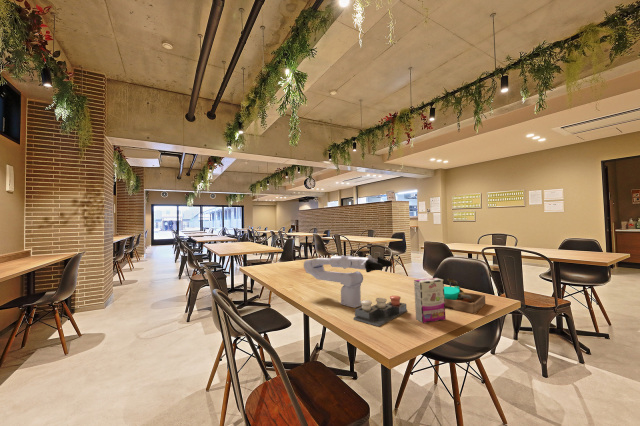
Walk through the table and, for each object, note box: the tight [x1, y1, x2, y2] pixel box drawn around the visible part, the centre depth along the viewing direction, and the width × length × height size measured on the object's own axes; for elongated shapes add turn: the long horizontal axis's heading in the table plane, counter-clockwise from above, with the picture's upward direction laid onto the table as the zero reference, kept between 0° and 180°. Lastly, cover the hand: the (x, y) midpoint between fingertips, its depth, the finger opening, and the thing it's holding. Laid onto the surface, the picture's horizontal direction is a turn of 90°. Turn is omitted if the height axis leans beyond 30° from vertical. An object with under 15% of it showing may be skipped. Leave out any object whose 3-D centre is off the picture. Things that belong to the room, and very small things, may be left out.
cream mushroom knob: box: [361, 299, 373, 312], centre depth 115 cm, size 5×5×4 cm
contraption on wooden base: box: [444, 278, 472, 310], centre depth 131 cm, size 14×18×15 cm
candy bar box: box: [413, 277, 446, 324], centre depth 112 cm, size 11×5×16 cm, turn 105°
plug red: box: [389, 295, 401, 306], centre depth 121 cm, size 5×5×4 cm
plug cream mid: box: [375, 297, 387, 309], centre depth 118 cm, size 5×5×4 cm
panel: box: [353, 301, 408, 328], centre depth 118 cm, size 13×24×4 cm, turn 137°
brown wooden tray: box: [444, 291, 486, 314], centre depth 131 cm, size 22×18×4 cm
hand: (387, 265), depth 120 cm, fingers open, 7 cm apart
